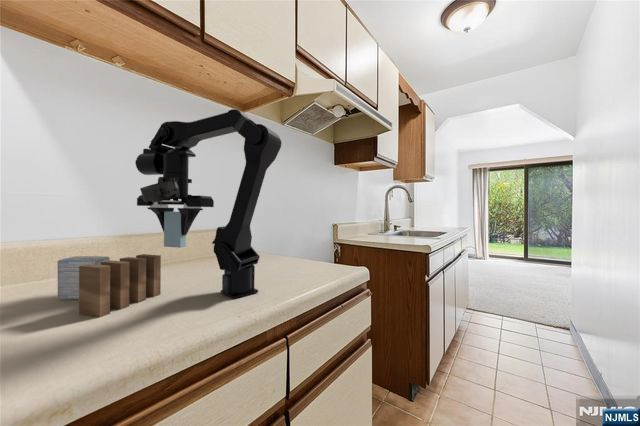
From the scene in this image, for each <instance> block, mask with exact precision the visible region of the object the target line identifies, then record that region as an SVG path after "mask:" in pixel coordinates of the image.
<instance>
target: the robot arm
mask: <svg viewBox="0 0 640 426" xmlns="http://www.w3.org/2000/svg"><path fill="white" fill-rule="evenodd" d="M234 133H238V134H239V135H240V136H241V137H243V138H244V142H243V143H244V144H243V152H244V159H245V165H244V169H243V172H242V177H241V178H240V183H239V187H238V190H237V193H236V197H235V201H234V204H233V207H232V211H231V214H230V217H229V221H228V223H227V224H226V225H225V226H218V227H216V230H215V237H214V240H213V241H212V245H213V253H214V254H215V256H216V260H217V264H218V266H219V269H220V270H221V271H224V273H223V274H222V275H221V276H222V279H221V280H222V281H221V285H222V286H221V288H222V289H221V290H220V293H221V294H224V295H226V296H228V297H230V298H232V299H239V298H241V297H246V296H249V295H252V294H253V295H254V294H257V293H258V292H259V289H257V288H255V276H256V275H255V271H256V270H255V269H256V268H255V267H256V266H255V265H258V263H259V260H260V255H259V254H258V252H257V251H256V250H255V249H254V248H253V246H252V240H253V236H252V231H251V223H252V221H253V217H254V213H255V211H256V206H257V204H258V199H259V197H260V193H261V190H262V186H263V182H264V179H265V176H266V173H267V170H268V169H269V167H271V165H272V164H273V162H274V161H275V160H276V159H277V156H278V154H279V152H280V150H281V148H282V140H281V138H280V136H279V135H278V134H277V133H276V132H275V131H273V130H271V129H270V128H269V127H267V126H265V125H263V124H261V123H255V121H253V120H251V119H250V118H249V116H248V115H246V114H245V113H244V112H242V111H241V110H239V109H237V108H235V109H234V108H233V109H230V110H228V111H226V112H223V113H219V114H216V115H215V114H214V115H211V116H208V117H205V118H200V119H198V120H194V121H178V120H173V121H172V120H171V121H164V122H163V123H161V124H160V127H159V128H158V130H157V132H156V133H155V135H154V137H153V138H152V139H151V141H150V144H149V146H148V148H143V150H142V152H143V153H139V155H137V157H136V158H135V168H136V169H137V171H138V172H139V173H140V174H141V175H145V176H154V175H155V176H156V175H157V176H158V175H159V177H158V178H157V182H156V183H153V184H150V185H147V186H143V187H140V188H139V189H140V192H141V194H139V196H138V197H137V198H136V206H139V207H142V206H143V207H145V206H146V207H147V209H148V210H150V211H151V212H153V214H155V215H156V218H157V219H158V222H159V224H160V226H161V227H160V228H161V229H162V231H163V233H164V212H175V211H174V210H175V207H169V205H170V206H171V205H177V206H180V205H181V206H183V207H177V210H178V212H180V214H181V231H182V235H186V236H187V234H188V233H189V231H190V228H191V226H192V225H193V223H194V221H195V219H196V217H197V216H198V214H200V212H201V211H204V208H214V207H215V206H214V205H215V201H214V199H213V198H212V196H210V195H209V196H208V195H192V194H189V184H192V183H193V179H191V178H189V162H190V161H189V158H196V157H197V155H196V153H194V151H192V150H191V149H192V148H194V147H196V146H197V145H198V144H199V143H200V142H202V141H204V140H207V139H212V138H216V137H220V136H225V135H229V134H234ZM160 175H162V176H160Z"/></svg>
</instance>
